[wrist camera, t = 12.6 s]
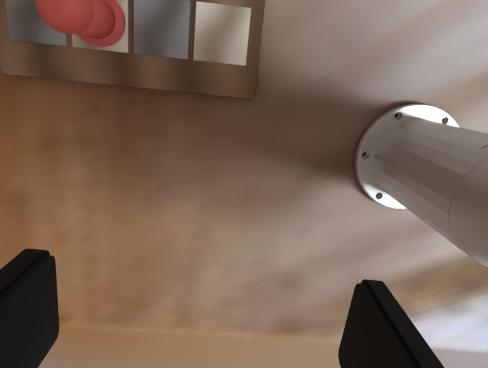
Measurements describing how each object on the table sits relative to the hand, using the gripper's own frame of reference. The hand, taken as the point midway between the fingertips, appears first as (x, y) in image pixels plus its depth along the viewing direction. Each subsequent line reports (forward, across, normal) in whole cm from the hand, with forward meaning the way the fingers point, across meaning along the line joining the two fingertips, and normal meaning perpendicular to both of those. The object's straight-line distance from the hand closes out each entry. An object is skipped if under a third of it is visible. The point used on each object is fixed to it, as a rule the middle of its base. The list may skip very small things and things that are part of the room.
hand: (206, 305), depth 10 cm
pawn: (+28, +14, -10) cm, 33 cm away
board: (+29, +11, -10) cm, 33 cm away
